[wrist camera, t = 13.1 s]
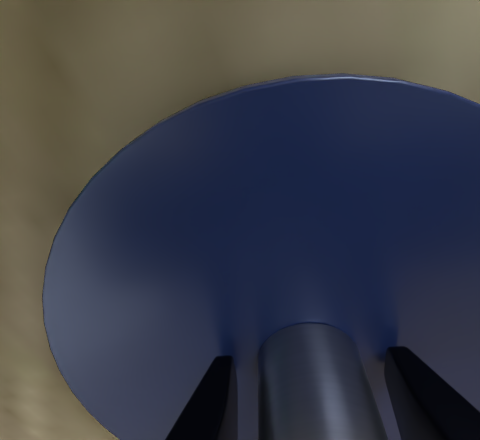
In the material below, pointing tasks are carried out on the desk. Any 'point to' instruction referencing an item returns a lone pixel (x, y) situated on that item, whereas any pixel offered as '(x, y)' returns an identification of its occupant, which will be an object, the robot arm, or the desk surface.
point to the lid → (275, 258)
